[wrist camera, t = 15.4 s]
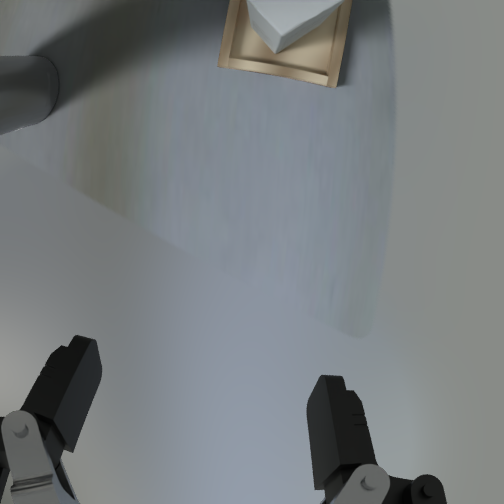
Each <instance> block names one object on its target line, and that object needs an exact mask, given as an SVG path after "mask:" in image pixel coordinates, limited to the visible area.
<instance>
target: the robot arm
mask: <svg viewBox="0 0 504 504" xmlns="http://www.w3.org/2000/svg"><path fill="white" fill-rule="evenodd" d="M58 89H59V81H58V75H57V72H56V69H55V67H54V65H53V64H52V63H51V62H50V61H49V60H48V59H46V58H44V57H41V56H0V135H2V134H5V133H8V132H11V131H14V130H18V129H21V128H24V127H27V126H30V125H34V124H37V123H39V122H41V121H42V120H43V119H45V118H46V117H47V116H48V114H49V113H50V112H51V110H52V108H53V106H54V104H55V102H56V99H57V95H58ZM101 377H102V365H101V361H100V356H99V351H98V346H97V342H96V340H95V339H91V338H87V337H83V336H79V335H75V336H74V337H73V339H72V341H71V342H70V344H69V346H68V347H65V346H62V345H61V346H60V347H59V348H58V349H56V350H55V351H54V352H53V353H52V354H51V355H50V357H49V358H48V360H47V362H46V364H45V367H43V369H42V371H41V372H40V376H38V378H37V380H36V381H35V383H34V385H33V387H32V389H31V391H30V393H29V395H28V397H27V398H26V400H25V402H24V404H23V406H22V407H21V409H20V410H18V411H13V412H11V413H9V414H8V415H7V416H6V417H0V503H1V499H2V495H3V492H4V488H5V485H6V482H7V478H8V475H9V472H10V471H11V475H12V478H13V486H11V496H12V499H13V502H14V504H80V503H79V501H78V499H77V497H76V494H75V492H74V490H73V487H72V485H71V483H70V480H69V478H68V475H67V473H66V470H65V468H64V465H63V462H62V459H61V455H62V452H63V450H67V451H69V452H72V453H73V452H74V449H75V446H76V443H77V440H78V437H79V435H80V432H81V429H82V427H83V424H84V422H85V419H86V416H87V414H88V411H89V408H90V406H91V403H92V401H93V398H94V396H95V394H96V391H97V389H98V386H99V384H100V381H101ZM364 415H365V413H364V409H363V405H362V402H361V400H360V399H359V397H358V396H357V394H356V393H355V392H354V391H352V390H351V391H350V390H346V387H345V382H344V379H343V377H342V376H333V375H321V376H320V377H319V379H318V381H317V383H316V385H315V387H314V389H313V391H312V393H311V395H310V397H309V400H308V403H307V422H308V430H309V439H310V449H311V458H312V468H313V477H314V487H315V490H325V498H324V499H323V500H322V501H321V503H320V504H447V502H446V497H445V493H444V489H443V485H442V483H441V482H440V480H439V479H438V478H436V477H435V476H432V475H428V474H427V475H421V476H419V477H417V478H416V479H415V480H408V479H402V478H396V477H392V476H390V475H388V474H387V473H386V471H385V470H384V469H383V468H381V467H379V466H378V464H377V462H376V459H375V454H374V450H373V446H372V441H371V437H370V433H369V429H368V426H367V421H366V417H365V416H364Z"/></svg>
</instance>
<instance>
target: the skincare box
mask: <svg viewBox="0 0 504 504" xmlns="http://www.w3.org/2000/svg"><path fill="white" fill-rule="evenodd" d="M246 1H247V6H248V12H249V18H250V24H251V27H252V29H253V30H254V31H255V32H256V33H257V34H258V35H259V36H260V37H261V39H262V40H263V41H264V42H265V43H266V44H267V46H268V47H269V48H270V49H271V50H272V51H273V52H274V53H275V54H277V53H278V52H280V51H281V50H283V49H284V48H286V47H287V46H289V45H290V44H292V43H293V42H295V41H296V40H298V39H299V38H301V37H303V36H304V35H306V34H307V33H309V32H310V31H312V30H313V29H315V28H317V27H318V26H320V24H322V23H323V22H324V20H326V18H327V17H328V16H329V15H330V14H331V13H332V12H333V11H334V10H335V9H336V8H337V7H338V6H340V5H341V4H342V3H343V2H344V1H345V0H246Z"/></svg>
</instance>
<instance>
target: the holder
mask: <svg viewBox="0 0 504 504" xmlns="http://www.w3.org/2000/svg"><path fill="white" fill-rule="evenodd" d="M351 5H352V0H345V1H344V2H343V3H342V4H341V5H340V6H338V7H337V8H336V9H335V10H334V11H333V12H332V13H331V14H330V15H329V16H328V17H327V18H326V20H324V22H323V23H322V24H320V26H318V27H317V28H315V29H313V30H312V31H310V32H309V33H307V34H306V35H304V36H303V37H301V38H299V39H298V40H296V41H295V42H293V43H292V44H290V45H289V46H287V47H286V48H284V49H283V50H281V51H280V52H278V53H277V54H275V53H274V52H273V51H272V50H271V49H270V48H269V47H268V46H267V44H266V43H265V42H264V41H263V40H262V39H261V37H260V36H259V35H258V34H257V33H256V32H255V31H254V30H253V29H252V27H251V24H250V18H249V12H248V6H247V1H246V0H230V2H229V7H228V12H227V17H226V22H225V27H224V32H223V38H222V43H221V49H220V54H219V60H218V67H220V68H229V69H236V70H244V71H250V72H257V73H263V74H269V75H275V76H280V77H285V78H290V79H295V80H300V81H305V82H309V83H313V84H318V85H322V86H326V87H330V88H336V86H337V81H338V76H339V71H340V66H341V60H342V55H343V50H344V45H345V39H346V34H347V28H348V23H349V17H350V11H351Z"/></svg>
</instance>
